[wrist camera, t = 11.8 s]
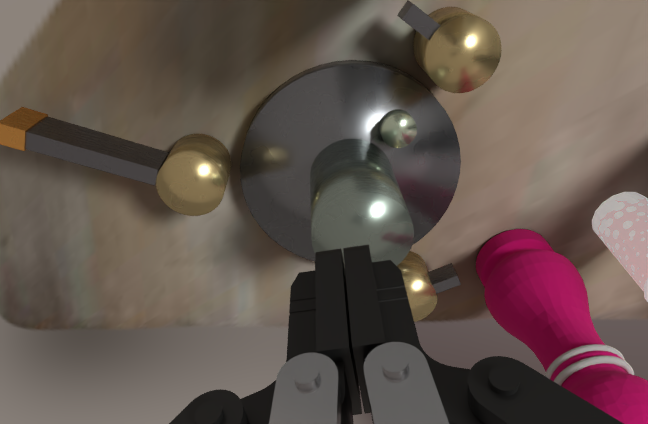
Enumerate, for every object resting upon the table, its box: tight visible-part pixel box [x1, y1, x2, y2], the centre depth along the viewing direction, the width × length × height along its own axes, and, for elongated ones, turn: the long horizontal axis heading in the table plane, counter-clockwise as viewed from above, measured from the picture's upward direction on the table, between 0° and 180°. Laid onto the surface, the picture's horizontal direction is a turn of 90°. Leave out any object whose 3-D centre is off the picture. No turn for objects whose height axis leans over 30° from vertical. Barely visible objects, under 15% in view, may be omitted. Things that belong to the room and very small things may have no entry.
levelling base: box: [240, 1, 501, 322], centre depth 32 cm, size 23×19×10 cm
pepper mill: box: [476, 229, 648, 424], centre depth 32 cm, size 7×7×20 cm
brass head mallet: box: [0, 107, 232, 216], centre depth 32 cm, size 14×4×4 cm, turn 70°
